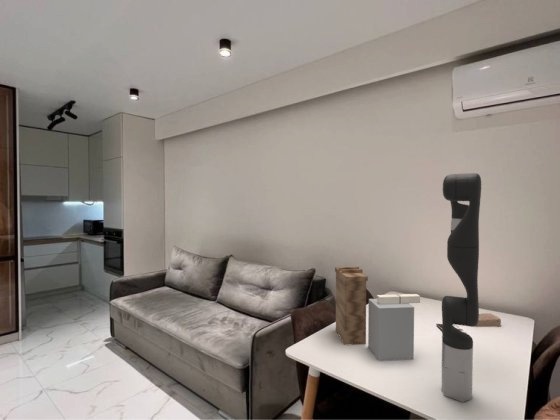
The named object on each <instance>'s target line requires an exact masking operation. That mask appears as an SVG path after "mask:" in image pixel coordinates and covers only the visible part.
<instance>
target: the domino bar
mask: <svg viewBox="0 0 560 420" xmlns="http://www.w3.org/2000/svg"><path fill="white" fill-rule="evenodd" d="M376 299H377V302H378V303H379V304H403V303H409V304H421V296H420V295H419V294H418V293H404V294H403V293H402V294H398V293H397V294H376Z"/></svg>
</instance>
